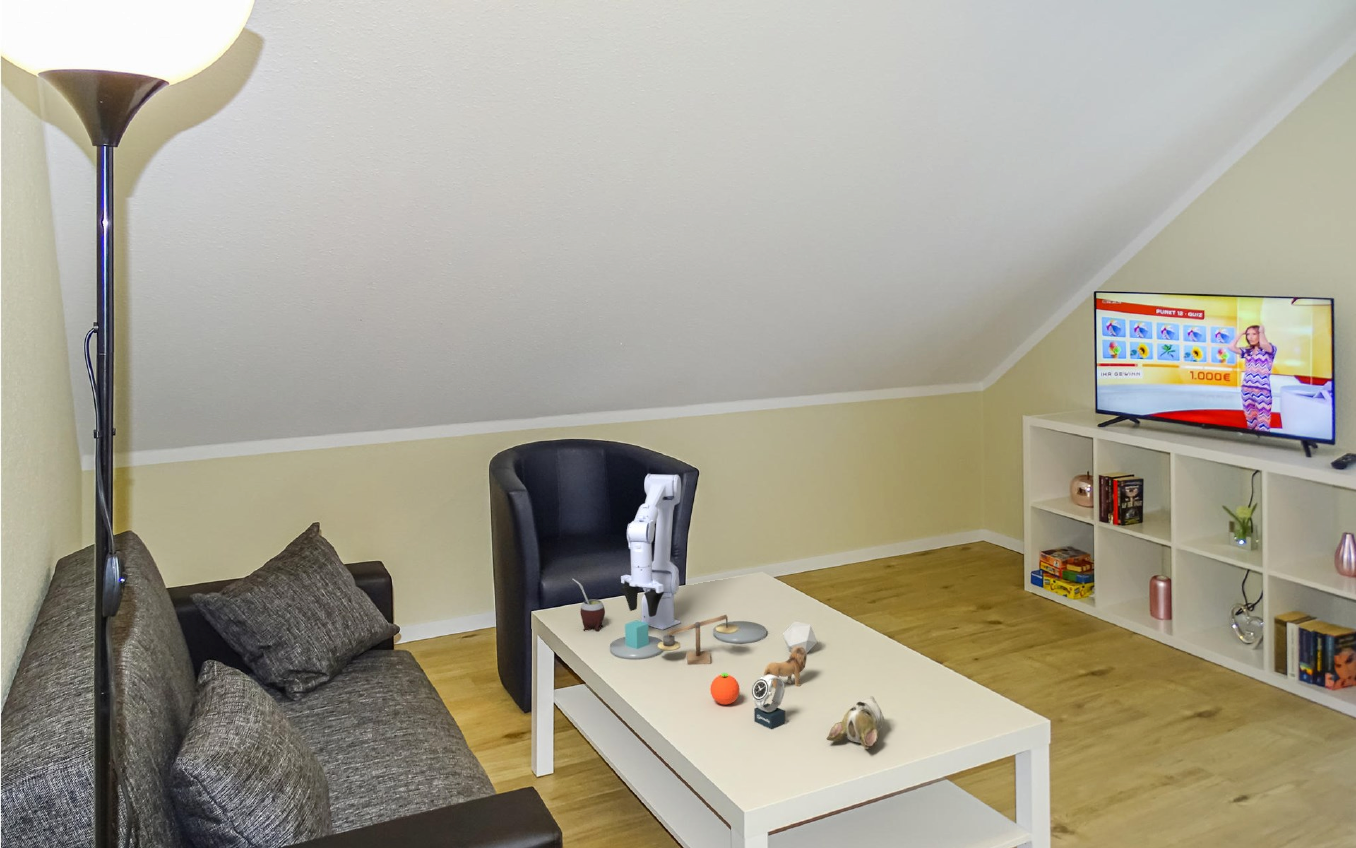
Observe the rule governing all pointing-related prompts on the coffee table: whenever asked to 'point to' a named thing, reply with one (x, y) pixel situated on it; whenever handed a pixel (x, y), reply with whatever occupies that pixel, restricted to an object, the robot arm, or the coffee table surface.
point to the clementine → (724, 689)
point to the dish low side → (626, 652)
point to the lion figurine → (789, 666)
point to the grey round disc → (742, 633)
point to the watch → (769, 712)
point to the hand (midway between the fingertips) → (642, 612)
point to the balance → (697, 655)
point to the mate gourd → (591, 612)
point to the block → (636, 634)
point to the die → (799, 636)
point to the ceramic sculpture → (860, 724)
